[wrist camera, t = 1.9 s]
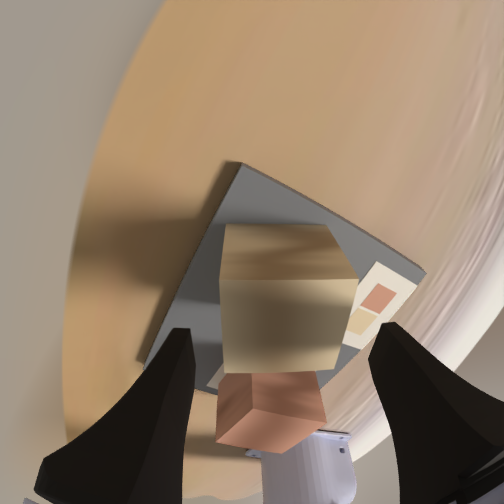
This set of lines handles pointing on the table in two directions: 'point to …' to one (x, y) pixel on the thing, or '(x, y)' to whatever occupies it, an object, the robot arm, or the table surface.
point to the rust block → (268, 410)
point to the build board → (283, 212)
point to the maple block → (283, 298)
